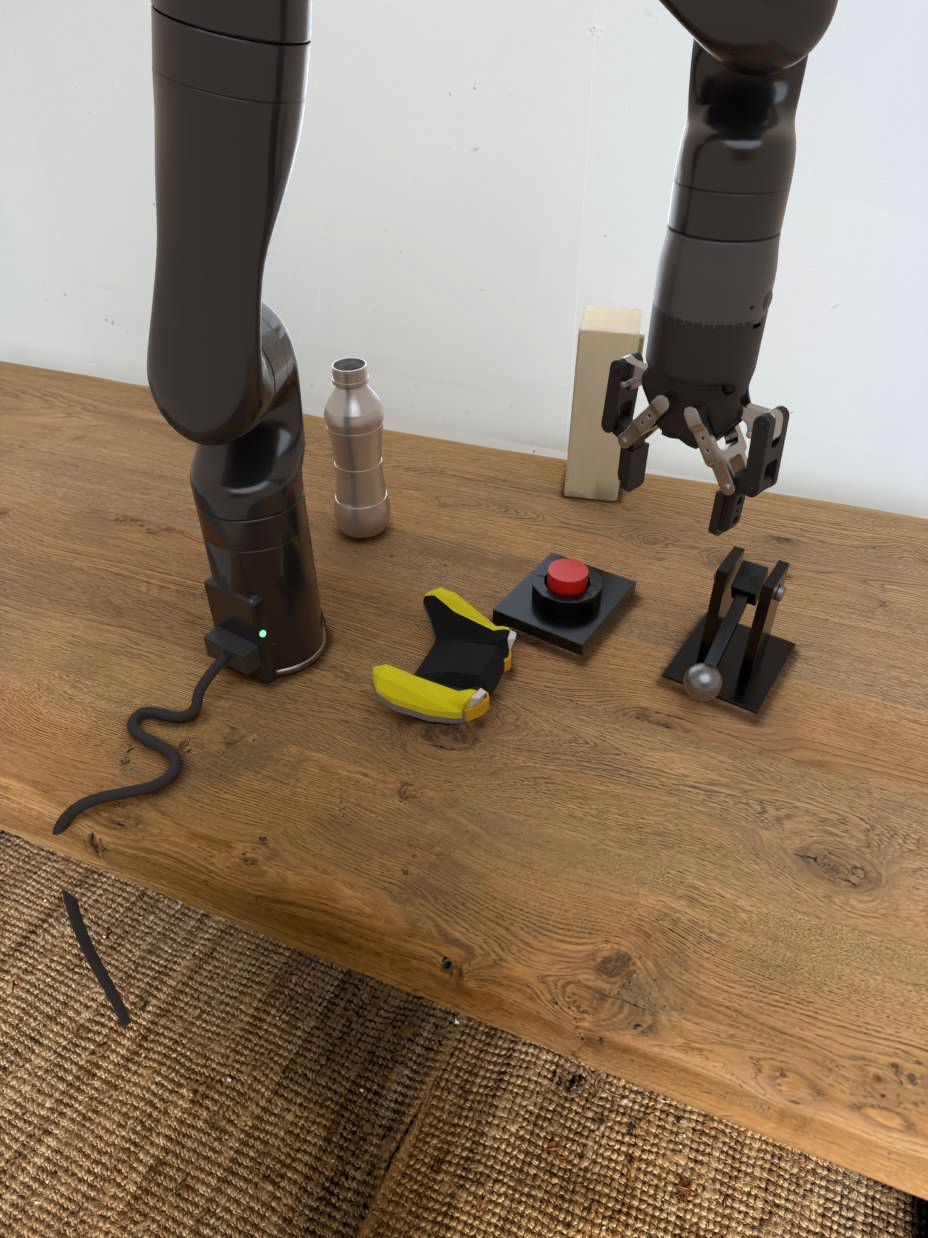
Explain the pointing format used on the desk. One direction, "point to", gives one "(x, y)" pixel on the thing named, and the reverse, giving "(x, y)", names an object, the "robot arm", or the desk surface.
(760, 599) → the switch bracket
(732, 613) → the switch lever
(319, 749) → the desk surface
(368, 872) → the desk surface
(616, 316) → the toy refrigerator
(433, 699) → the gaming controller
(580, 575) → the button
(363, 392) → the silver metal bottle
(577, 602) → the control box
